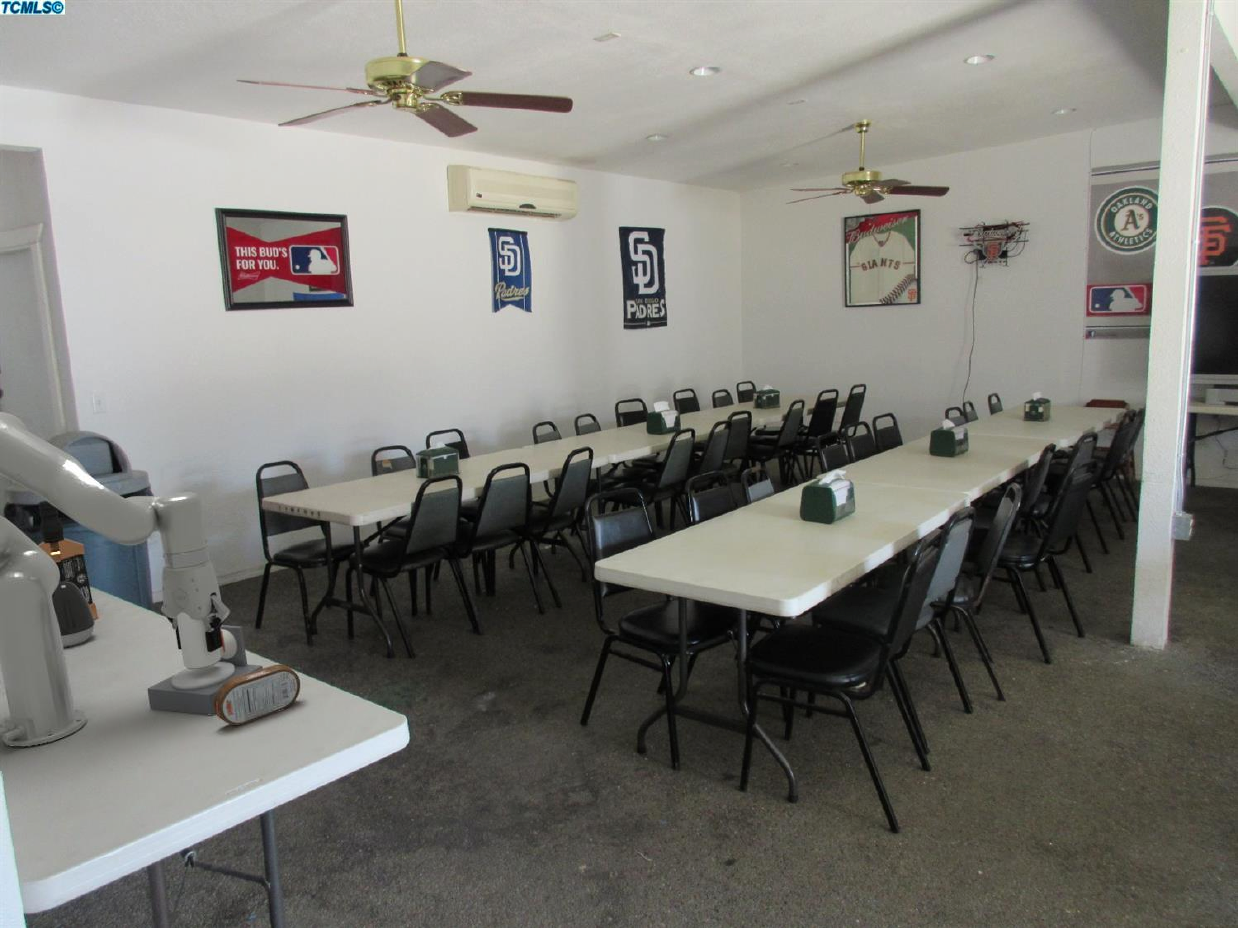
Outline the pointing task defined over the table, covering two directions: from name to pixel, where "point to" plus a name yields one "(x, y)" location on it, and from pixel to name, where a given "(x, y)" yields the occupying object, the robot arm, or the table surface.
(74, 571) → the whiskey bottle
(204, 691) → the scale
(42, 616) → the robot arm
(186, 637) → the can
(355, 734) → the table surface
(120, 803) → the table surface
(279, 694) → the tin
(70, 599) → the pump dispenser
